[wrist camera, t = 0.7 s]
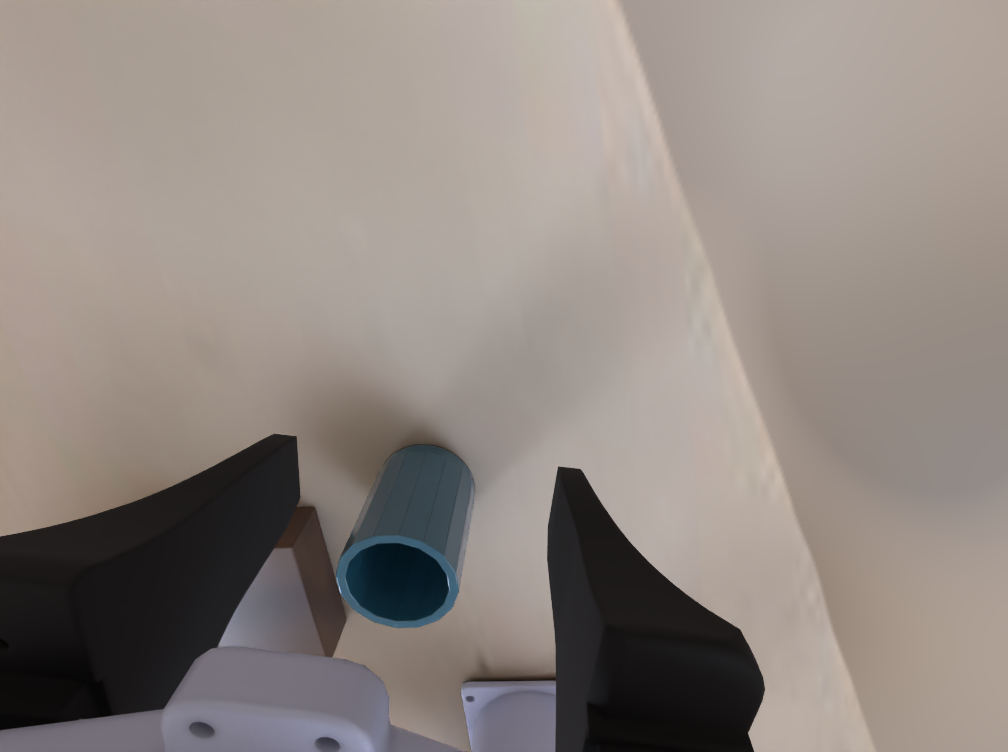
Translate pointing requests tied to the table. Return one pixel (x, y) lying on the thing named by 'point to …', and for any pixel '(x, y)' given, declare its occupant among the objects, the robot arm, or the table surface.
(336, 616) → the walnut block
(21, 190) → the table surface
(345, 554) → the small cup
